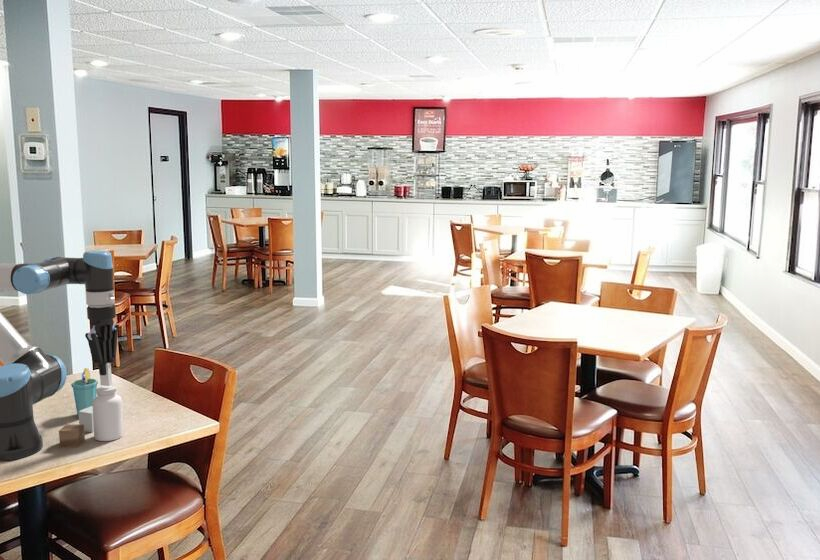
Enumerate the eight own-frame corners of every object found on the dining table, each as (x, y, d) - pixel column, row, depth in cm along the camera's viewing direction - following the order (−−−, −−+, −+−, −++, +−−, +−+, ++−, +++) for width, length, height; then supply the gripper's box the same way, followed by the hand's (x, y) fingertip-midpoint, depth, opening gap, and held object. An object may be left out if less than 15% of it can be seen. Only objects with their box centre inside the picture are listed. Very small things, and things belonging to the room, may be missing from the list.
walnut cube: (78, 447, 207) (77, 430, 206) (60, 447, 207) (58, 430, 206) (84, 440, 212) (83, 424, 211) (67, 441, 212) (66, 424, 211)
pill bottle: (117, 442, 211) (114, 392, 208) (89, 441, 211) (86, 391, 209) (128, 432, 219) (125, 383, 216) (101, 431, 219) (98, 383, 216)
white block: (92, 432, 218) (91, 413, 217) (79, 430, 220) (78, 411, 219) (105, 427, 223) (103, 408, 222) (92, 424, 225) (91, 406, 224)
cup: (100, 420, 228) (97, 374, 226) (73, 424, 225) (69, 376, 223) (99, 406, 241) (96, 362, 238) (73, 409, 238) (70, 365, 235)
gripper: (98, 310, 201) (104, 392, 205) (126, 301, 214) (130, 379, 218) (74, 308, 203) (80, 390, 207) (103, 300, 216) (108, 377, 219)
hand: (106, 384), depth 212 cm, fingers closed
